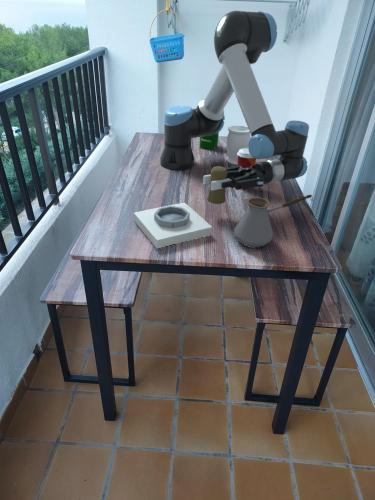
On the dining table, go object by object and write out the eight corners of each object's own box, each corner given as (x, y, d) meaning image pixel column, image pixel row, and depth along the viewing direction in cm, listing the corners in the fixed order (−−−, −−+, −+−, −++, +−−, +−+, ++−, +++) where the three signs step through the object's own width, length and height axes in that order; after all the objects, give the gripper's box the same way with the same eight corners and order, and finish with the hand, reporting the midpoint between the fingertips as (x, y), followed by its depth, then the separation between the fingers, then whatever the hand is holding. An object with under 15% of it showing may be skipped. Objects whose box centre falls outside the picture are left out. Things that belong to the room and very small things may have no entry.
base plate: (134, 220, 115) (133, 206, 112) (184, 210, 122) (184, 196, 120) (157, 249, 102) (156, 234, 99) (211, 235, 109) (212, 221, 107)
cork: (228, 198, 118) (232, 167, 112) (220, 205, 114) (224, 173, 108) (212, 194, 121) (215, 162, 115) (203, 200, 116) (206, 168, 110)
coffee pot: (237, 252, 102) (244, 204, 94) (229, 231, 112) (235, 186, 103) (309, 250, 104) (322, 203, 96) (295, 230, 114) (306, 186, 106)
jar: (247, 166, 159) (251, 132, 151) (224, 164, 161) (227, 130, 152) (247, 158, 168) (252, 126, 160) (225, 156, 169) (228, 124, 161)
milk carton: (197, 148, 178) (199, 105, 167) (203, 143, 185) (205, 102, 174) (214, 151, 176) (217, 108, 165) (219, 145, 183) (223, 104, 172)
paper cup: (252, 191, 138) (257, 155, 130) (232, 188, 139) (236, 153, 131) (253, 183, 144) (258, 148, 136) (234, 181, 145) (238, 146, 138)
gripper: (281, 192, 118) (221, 205, 108) (250, 173, 130) (193, 183, 120) (285, 170, 113) (223, 182, 104) (253, 153, 126) (195, 162, 116)
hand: (207, 183), depth 112 cm, fingers closed on cork, 4 cm apart
